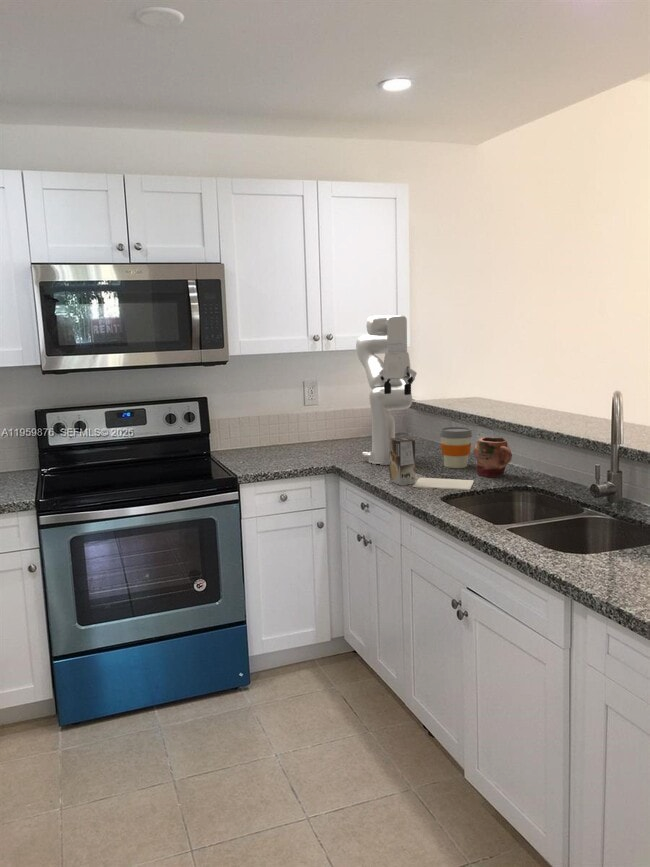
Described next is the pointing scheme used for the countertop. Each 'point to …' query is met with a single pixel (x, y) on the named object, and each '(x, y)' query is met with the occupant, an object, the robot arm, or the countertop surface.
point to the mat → (444, 483)
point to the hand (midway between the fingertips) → (397, 394)
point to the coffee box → (402, 460)
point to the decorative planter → (491, 456)
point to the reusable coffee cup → (455, 446)
